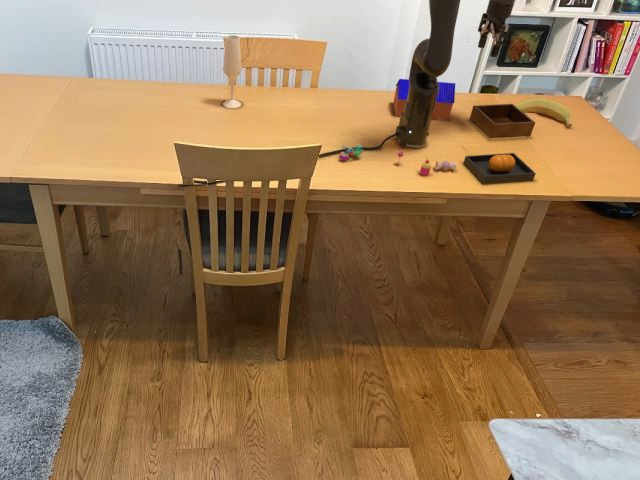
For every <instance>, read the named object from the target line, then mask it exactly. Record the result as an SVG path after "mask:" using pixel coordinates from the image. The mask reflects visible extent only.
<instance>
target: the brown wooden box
mask: <svg viewBox="0 0 640 480" xmlns="http://www.w3.org/2000/svg"><path fill="white" fill-rule="evenodd" d="M469 120H470V121H471V122H472V123H473V124H474V125H475V126H476V127H477V128H479V130H480V131H482V132H483V133H484V135H486V136H487V137H488V138H489V139H501V138H502V139H503V138H517V137H531V136H532V133H533V130H534V128H535V125H536V121H535V120H534V119H532V118H531V117H530V116H528V115H527V114H526V113H525V112H522V111H521V110H519V109H518V108H517V107H516V105H515V104H514V103H500V104H499V103H498V104H479V105H473V106H472V109H471V112H470V115H469Z"/></svg>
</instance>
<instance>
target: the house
mask: <svg viewBox="0 0 640 480" xmlns="http://www.w3.org/2000/svg"><path fill="white" fill-rule="evenodd" d="M438 85H439V91H438V95H437V99H436V103H435V107H434V111H433V115H432V119H431V120H438V119H450V116H451V112H452V109H453V105H454V104H455V97H456V83H455V82H445V81H444V82H443V81H438ZM408 92H409V78H408V79H407V78H399V79H398V81H397V83H396V84H395V93H394V98H393V102H392V105H393V110H394V116H395V117H399V118H400V117H401V113H403V112H404V110H405V105H406V101H407V96H408Z"/></svg>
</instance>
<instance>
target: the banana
mask: <svg viewBox="0 0 640 480" xmlns="http://www.w3.org/2000/svg"><path fill="white" fill-rule="evenodd" d="M515 106H516V107H517V108H518V109H519V110H521V111H522V112H523V113H534V114H535V113H536V114H542V115H547V116H549V117H551V118H553V119H556V120H558V121H561V122H564V123H566V128H568V129H570V128H572V126H573V124H572V123H571V122H570V118H571V111H570V109H569V108H568V107H567V106H565V105H564V104H562V103H560V102H557V101H554V100H551V99H545V98H529V99H526V100H523V101H521V102H519V103H517V105H515Z"/></svg>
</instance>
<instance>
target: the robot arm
mask: <svg viewBox="0 0 640 480" xmlns="http://www.w3.org/2000/svg"><path fill="white" fill-rule="evenodd" d="M515 2H516V0H488V4H487V8H486V11H485V12H483V13H482V15H481V18H480V22H479V25H478V28H477V33H479V36H480V37H479V39H478V43H477V48H479V49H484V48H485V47H486V43H487V40H488V37H489V35H491V38H492V39H493V45H492V48H491V51H490V54H489V56H490V57H491V58H497V57H498V55H499V52H500V49H501V46H506V45H507V41H508V38H509V34H510V31H511V25H510V24H506V20H507V19H508V18H510V17H511V15H512V12H513V9H514V5H515ZM460 5H461V0H428V9H429V18H430V33H429V38H425V39H423V40H422V41H420V42H419V43H418V44H417V46H416V47H415V49H414V51H413V55H412V57H411V63H410V69H409V76H408V80H409V92H408V96H407V101H406V105H405V110H404V112H403V113H401V117H400V116H399V121H398V125H396V127H395V133H393V134H391V135H389V136H387V137H386V138H385V139H384V140H383V141H382V142H381V143H380V144H379V145H378V146H372V147H367V146H362V148H361V147H360V146H359V147H360V149H359V150H362V149H363V151H365V150H366V151H375V150H379V149H381V148H382V147H384V145H385V144H386V142H388V141H389V140H391V139H392V138H394V137H395V140H396V141H397V142H398V143H399V145H400V146H401V147H403V148H409V149H421V148H423V147H425V146H426V145H427V141H428V140H427V139H428V136H429V135H430V127H431V124H432V120H433V119H432V115H433V111H434V107H435V103H436V99H437V95H438V91H439V85H438V82H439V81H438V77H441V76H442V75H443V74H445V73H446V71H447V70H448V68H449V66H450V65H451V61H452V54H453V46H454V37H455V30H456V26H457V25H456V24H457V20H458V14H459V11H460ZM356 147H357V146H353V147H351V148H352V149H356ZM342 149H343V148H341V149H337V150H332V151H327V152H324V153H320V155H319V154H318V155H319V157H318V158H322V157H325V156H330V155H334V154H340V153H341V152H344V153H345V152H346V150H344V149H343V150H342ZM347 150H348V149H347ZM193 180H194V183H193V184H200V185H208V184H207V181H208V180H197V179H193ZM222 182H224V181H216V183H222ZM181 187H182V188H184V187H185V186H184V185H183V184H182V185H181ZM177 251H178V253H177V254H178V265H179V275H180V276H183V258H182V257H183V256H182V250H181V249H180V248H179V249H178V250H177Z"/></svg>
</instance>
